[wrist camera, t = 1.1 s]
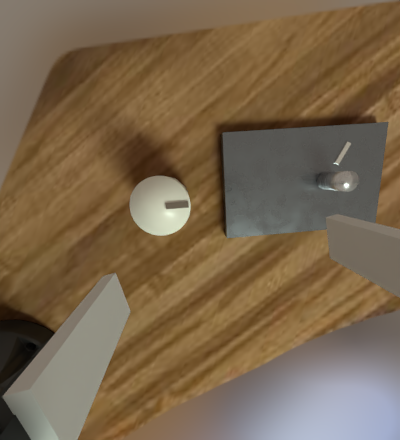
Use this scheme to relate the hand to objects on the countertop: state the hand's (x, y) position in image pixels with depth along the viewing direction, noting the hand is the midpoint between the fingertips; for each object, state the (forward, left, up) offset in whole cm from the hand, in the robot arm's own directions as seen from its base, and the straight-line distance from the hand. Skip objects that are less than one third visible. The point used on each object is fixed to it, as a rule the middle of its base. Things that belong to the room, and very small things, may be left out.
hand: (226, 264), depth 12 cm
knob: (-5, +3, -17) cm, 18 cm away
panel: (+14, +4, -17) cm, 22 cm away
